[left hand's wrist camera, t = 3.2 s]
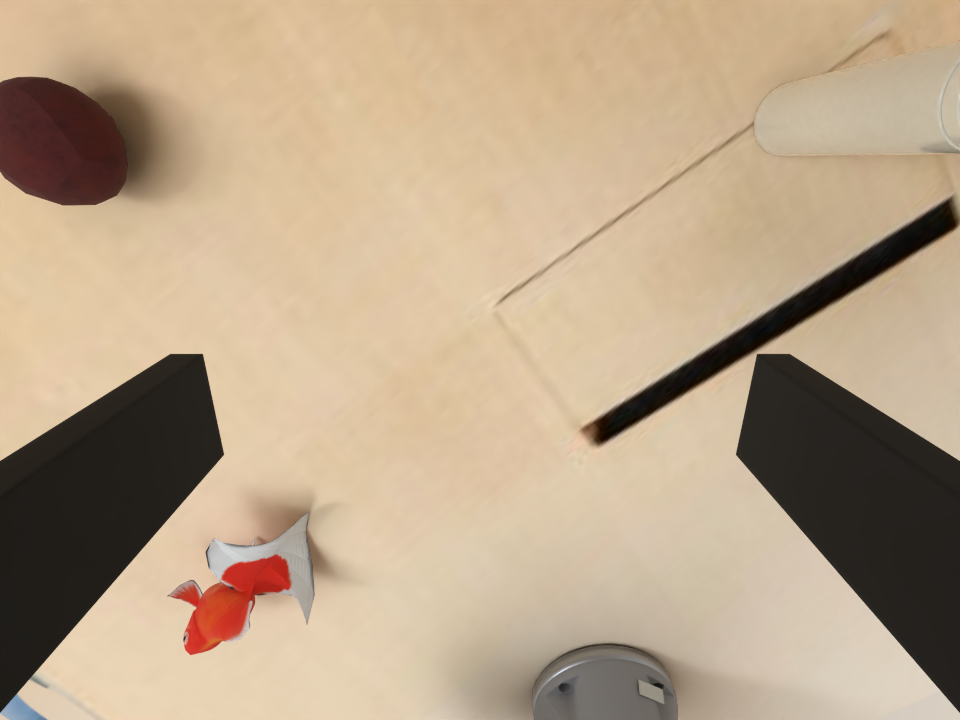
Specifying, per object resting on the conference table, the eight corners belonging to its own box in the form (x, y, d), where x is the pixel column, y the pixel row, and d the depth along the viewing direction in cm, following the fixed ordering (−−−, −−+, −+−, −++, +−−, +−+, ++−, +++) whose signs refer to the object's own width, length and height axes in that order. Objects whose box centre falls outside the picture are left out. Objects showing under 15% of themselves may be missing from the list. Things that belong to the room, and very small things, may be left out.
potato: (88, 61, 34) (-5, 38, 28) (174, 165, 36) (107, 166, 30) (17, 129, 36) (-88, 122, 29) (103, 224, 38) (25, 238, 31)
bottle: (748, 97, 35) (1099, 17, 15) (817, 70, 34) (1278, -51, 15) (759, 166, 37) (1090, 174, 17) (825, 141, 36) (1251, 119, 16)
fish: (115, 574, 44) (112, 673, 37) (269, 456, 48) (297, 524, 40) (203, 622, 51) (216, 714, 43) (333, 515, 54) (367, 583, 47)
